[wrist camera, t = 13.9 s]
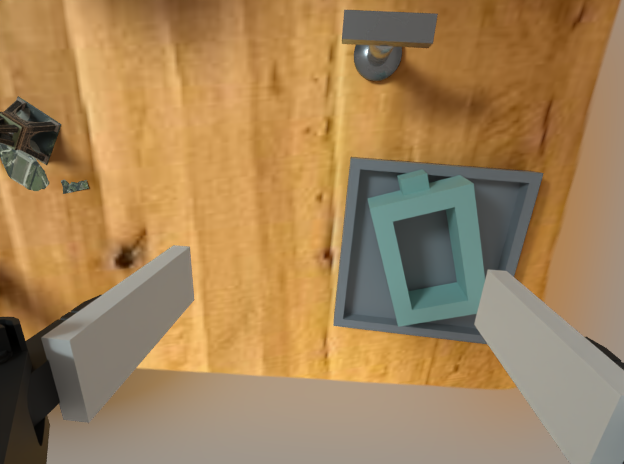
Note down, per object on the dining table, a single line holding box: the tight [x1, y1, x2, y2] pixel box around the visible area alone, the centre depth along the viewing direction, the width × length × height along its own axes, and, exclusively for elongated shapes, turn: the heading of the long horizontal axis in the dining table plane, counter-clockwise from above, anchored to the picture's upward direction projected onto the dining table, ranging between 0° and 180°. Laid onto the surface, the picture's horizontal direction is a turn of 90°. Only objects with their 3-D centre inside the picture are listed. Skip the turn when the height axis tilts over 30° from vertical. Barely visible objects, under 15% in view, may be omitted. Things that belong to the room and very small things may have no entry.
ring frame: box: [368, 169, 485, 327], centre depth 31 cm, size 15×9×4 cm, turn 16°
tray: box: [334, 157, 543, 344], centre depth 34 cm, size 19×18×2 cm
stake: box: [342, 10, 438, 81], centre depth 26 cm, size 4×6×8 cm
